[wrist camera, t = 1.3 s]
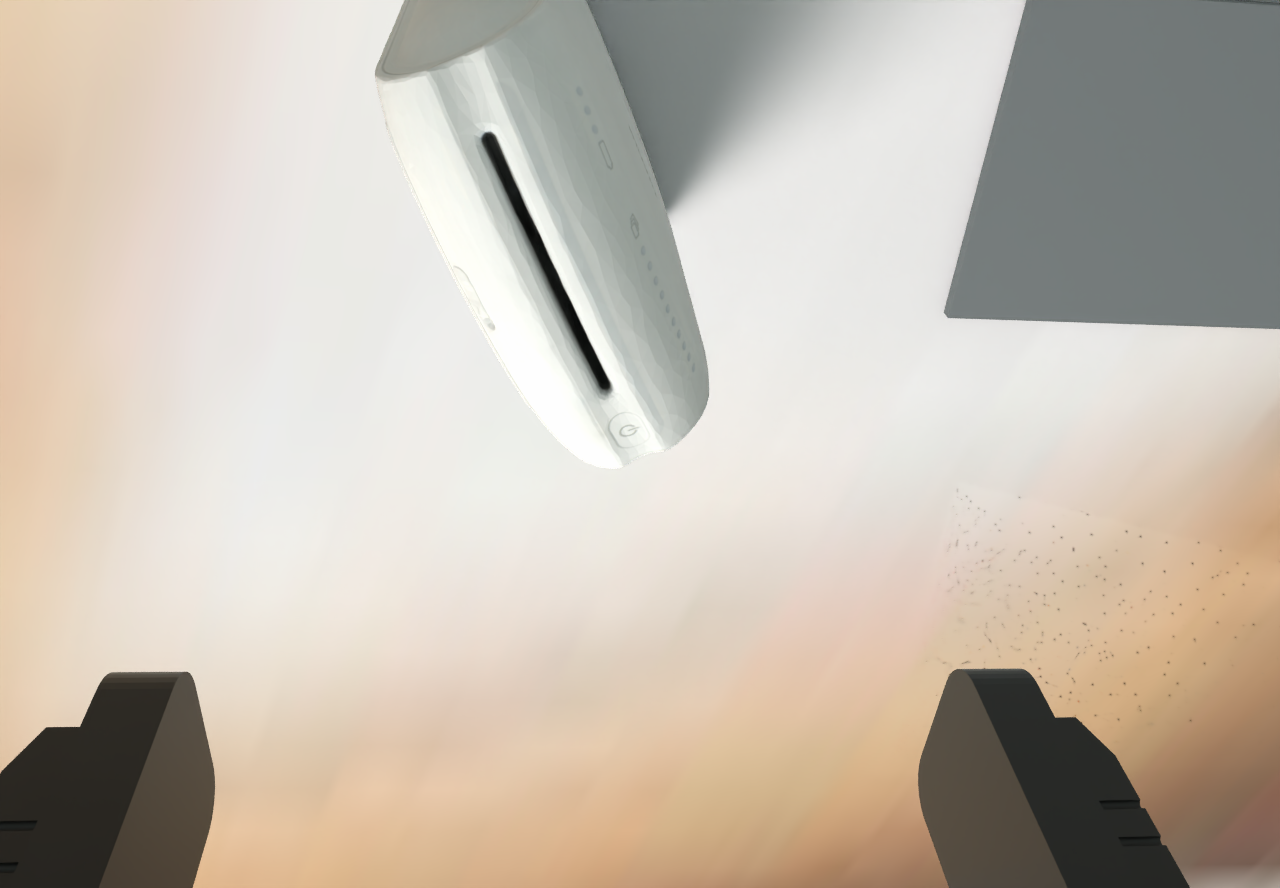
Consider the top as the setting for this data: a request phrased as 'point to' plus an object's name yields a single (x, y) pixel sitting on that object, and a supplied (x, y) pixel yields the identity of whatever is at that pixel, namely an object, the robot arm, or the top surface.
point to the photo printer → (548, 216)
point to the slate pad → (1131, 169)
